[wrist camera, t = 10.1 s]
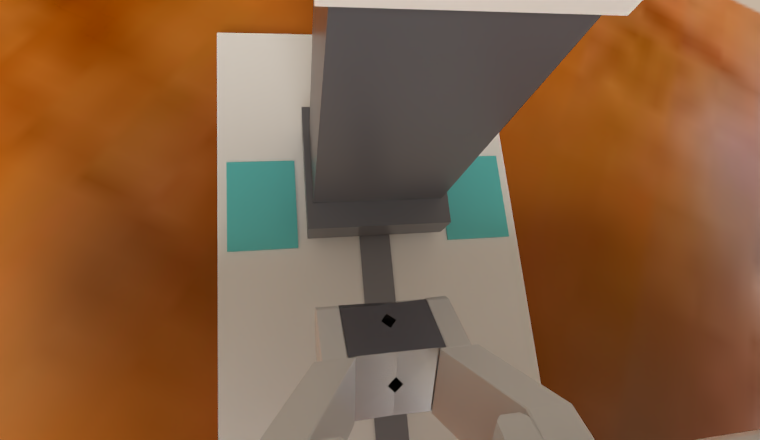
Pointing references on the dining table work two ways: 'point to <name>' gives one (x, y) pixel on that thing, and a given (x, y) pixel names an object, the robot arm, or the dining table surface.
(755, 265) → the dining table surface
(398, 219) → the fader tab
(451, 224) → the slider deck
